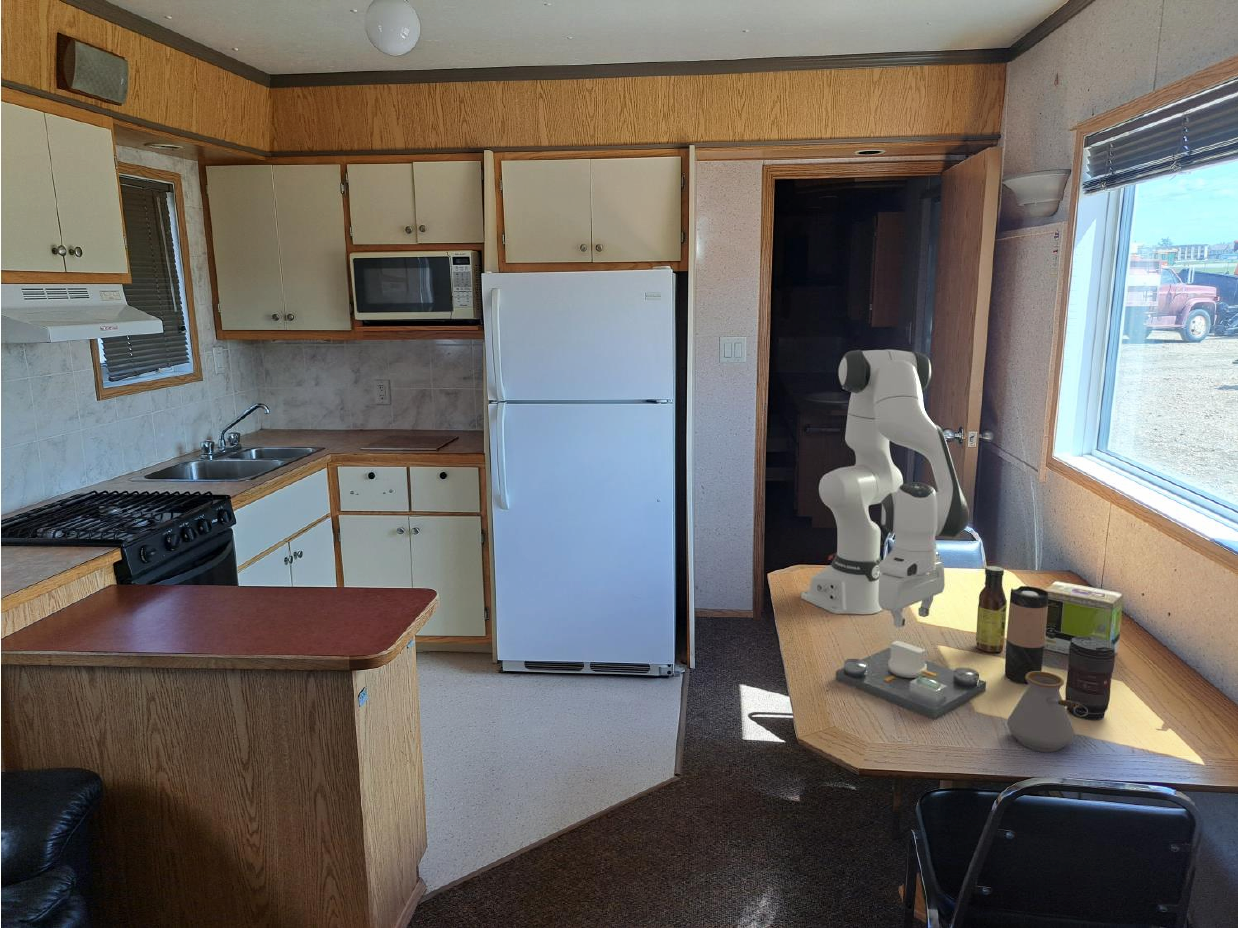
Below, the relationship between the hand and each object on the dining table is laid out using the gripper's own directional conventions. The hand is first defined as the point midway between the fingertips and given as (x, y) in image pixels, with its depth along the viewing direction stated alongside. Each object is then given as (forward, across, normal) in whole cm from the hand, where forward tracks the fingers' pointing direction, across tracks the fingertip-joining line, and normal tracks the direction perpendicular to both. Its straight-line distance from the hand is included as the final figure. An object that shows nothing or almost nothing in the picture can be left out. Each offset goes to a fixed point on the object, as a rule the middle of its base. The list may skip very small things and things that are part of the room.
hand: (911, 620), depth 189 cm
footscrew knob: (+12, 0, +1) cm, 12 cm away
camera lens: (+14, -14, +31) cm, 37 cm away
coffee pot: (+15, +8, +34) cm, 38 cm away
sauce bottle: (+14, -30, +2) cm, 33 cm away
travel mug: (+14, -20, +15) cm, 29 cm away
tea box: (+14, -45, +16) cm, 50 cm away
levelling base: (+14, +2, +1) cm, 14 cm away
